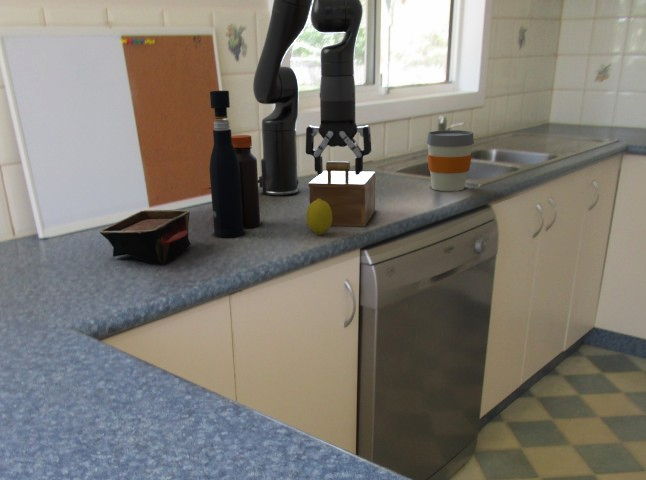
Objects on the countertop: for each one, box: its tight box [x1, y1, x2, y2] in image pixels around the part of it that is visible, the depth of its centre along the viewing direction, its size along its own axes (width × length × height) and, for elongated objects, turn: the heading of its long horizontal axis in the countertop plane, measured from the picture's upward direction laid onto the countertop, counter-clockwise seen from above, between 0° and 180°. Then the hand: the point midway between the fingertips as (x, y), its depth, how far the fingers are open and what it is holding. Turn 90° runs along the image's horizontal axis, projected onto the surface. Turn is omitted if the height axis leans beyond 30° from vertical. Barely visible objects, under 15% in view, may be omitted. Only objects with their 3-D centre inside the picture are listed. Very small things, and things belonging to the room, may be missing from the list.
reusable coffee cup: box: [426, 129, 475, 192], centre depth 183 cm, size 13×13×15 cm
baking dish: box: [99, 209, 192, 266], centre depth 132 cm, size 14×18×10 cm
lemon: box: [305, 199, 332, 236], centre depth 141 cm, size 6×6×8 cm
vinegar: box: [231, 134, 261, 229], centre depth 149 cm, size 7×7×20 cm
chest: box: [308, 175, 376, 227], centre depth 155 cm, size 15×13×9 cm
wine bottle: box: [209, 90, 245, 239], centre depth 140 cm, size 6×6×30 cm
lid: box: [307, 161, 376, 188], centre depth 152 cm, size 15×13×5 cm
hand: (338, 174), depth 147 cm, fingers open, 8 cm apart
